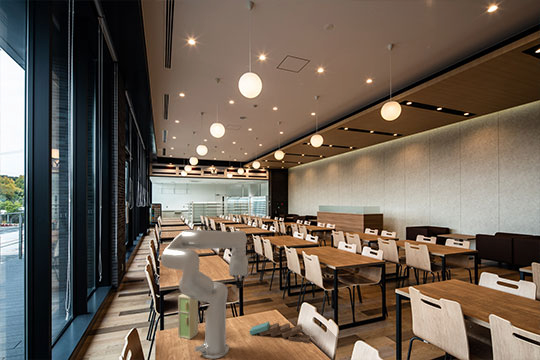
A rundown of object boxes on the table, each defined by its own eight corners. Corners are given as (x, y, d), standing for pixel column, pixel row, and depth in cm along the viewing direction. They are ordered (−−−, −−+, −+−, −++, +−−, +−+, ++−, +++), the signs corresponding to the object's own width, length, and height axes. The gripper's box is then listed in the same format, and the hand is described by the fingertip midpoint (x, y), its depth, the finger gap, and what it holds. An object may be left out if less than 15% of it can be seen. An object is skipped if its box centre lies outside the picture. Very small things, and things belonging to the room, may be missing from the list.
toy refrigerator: (176, 337, 139) (177, 296, 141) (186, 331, 146) (186, 291, 148) (189, 340, 136) (189, 298, 138) (198, 333, 143) (198, 293, 144)
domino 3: (270, 333, 138) (288, 327, 137) (271, 328, 143) (289, 322, 142) (271, 337, 138) (289, 330, 137) (273, 332, 143) (290, 326, 142)
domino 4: (281, 334, 136) (299, 328, 135) (283, 330, 141) (301, 324, 140) (283, 338, 136) (301, 332, 134) (285, 334, 141) (302, 328, 139)
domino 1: (249, 331, 141) (266, 325, 139) (252, 326, 146) (268, 321, 144) (250, 335, 141) (267, 329, 139) (253, 330, 145) (270, 325, 143)
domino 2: (259, 332, 140) (276, 326, 138) (261, 328, 145) (278, 322, 143) (260, 336, 139) (277, 330, 138) (262, 331, 144) (279, 326, 142)
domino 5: (288, 337, 135) (308, 340, 132) (290, 332, 139) (309, 335, 137) (288, 341, 135) (308, 344, 132) (290, 336, 139) (309, 339, 136)
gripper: (223, 254, 147) (223, 288, 145) (249, 255, 143) (249, 290, 142) (229, 251, 154) (229, 284, 153) (253, 252, 150) (254, 286, 149)
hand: (239, 287), depth 147 cm, fingers closed
